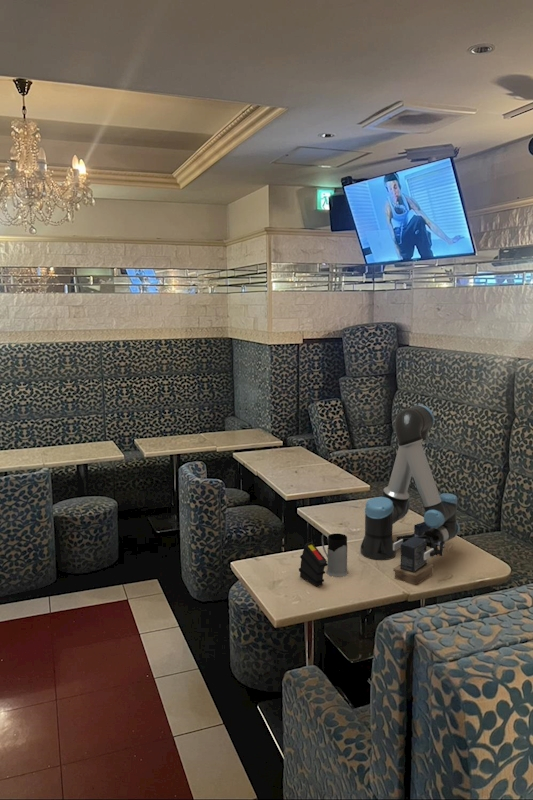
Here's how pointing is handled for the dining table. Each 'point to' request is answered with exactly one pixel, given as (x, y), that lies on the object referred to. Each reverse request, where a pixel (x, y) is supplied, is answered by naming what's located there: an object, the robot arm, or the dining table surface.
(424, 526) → the vhs cassette tape
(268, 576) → the dining table surface
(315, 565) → the magazine
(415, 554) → the small box
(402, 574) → the walnut stand
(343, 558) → the glass holder
